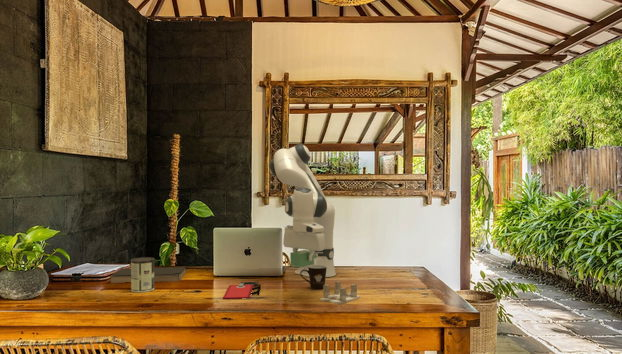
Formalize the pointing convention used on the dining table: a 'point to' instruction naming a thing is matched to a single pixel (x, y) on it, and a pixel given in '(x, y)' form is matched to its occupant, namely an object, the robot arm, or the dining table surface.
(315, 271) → the coffee mug
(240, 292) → the red board with handle
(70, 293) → the dining table surface
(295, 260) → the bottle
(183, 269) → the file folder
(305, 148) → the robot arm
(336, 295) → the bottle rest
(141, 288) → the coffee can
